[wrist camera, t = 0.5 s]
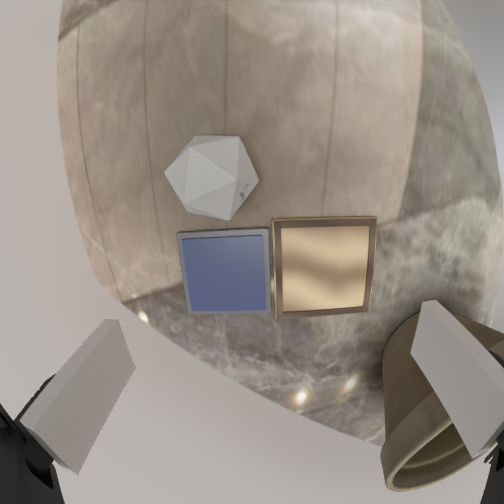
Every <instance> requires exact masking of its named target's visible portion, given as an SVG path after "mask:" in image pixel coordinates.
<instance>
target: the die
mask: <svg viewBox="0 0 504 504" xmlns="http://www.w3.org/2000/svg"><path fill="white" fill-rule="evenodd" d="M164 174H165V176H166V177H167V179H168V181H169V182H170V184H171V186H172V188H173V189H174V191H175V193H176V194H177V196H178V198H179V199H180V201H181V203H182V204H183V206H184V208H185V209H186V211H187V213H193V214H198V215H203V216H208V217H213V218H218V219H223V220H228V221H230V219H231V218H232V217H233V215H234V214H235V213H236V211H237V210H238V209H239V207H240V206H241V205H242V203H243V202H244V201H245V199H246V198H247V197H248V195H249V194H250V193H251V191H252V190H253V189H254V188H255V186H256V185H257V184H258V182H259V179H258V176H257V174H256V172H255V170H254V167H253V165H252V163H251V161H250V158H249V156H248V154H247V152H246V150H245V147H244V145H243V143H242V141H241V139H240V137H239V136H212V135H195V136H194V138H193V139H192V140H191V141H190V142H189V143H188V144H187V145H186V147H185V148H184V149H183V150H182V151H181V152H180V154H179V155H178V156H177V157H176V158H175V159H174V161H173V162H172V163H171V164H170V165H169V167H168V168H167V169H166V170H165V172H164Z"/></svg>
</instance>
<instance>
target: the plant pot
mask: <svg viewBox="0 0 504 504" xmlns="http://www.w3.org/2000/svg"><path fill="white" fill-rule="evenodd" d="M448 312H449V313H450V314H452V315H453V316H454V317H455V318H456V319H457V320H458V321H459V322H460V323H461V324H462V325H463V326H464V327H465V328H466V329H467V330H468V331H469V332H470V333H471V334H472V335H473V336H474V337H475V338H476V339H477V340H478V341H479V342H480V343H481V344H482V345H483V346H484V348H485V349H486V350H491V351H492V352H494V353H496V354H497V355H499V356H500V357H501V358H502V359H503V360H504V334H503V333H501V332H498V331H496V330H494V329H491V328H489V327H487V326H484V325H482V324H480V323H477V322H475V321H472V320H470V319H467V318H465V317H462V316H460V315H457V314H455V313H452V312H450V311H448ZM419 316H420V312H419V313H417V314H415V315H413V316H412V317H410V318H409V319H407V320H406V321H405V322H404V323H403V324H401V325H400V326H399V327H398V329H397V330H396V331H395V332H394V333H393V335H392V336H391V337H390V339H389V341H388V342H387V344H386V347H385V349H384V352H383V357H382V373H383V388H384V406H385V437H386V441H385V443H384V445H383V447H382V450H381V463H382V467H383V473H384V478H385V484H386V486H387V488H388V489H390V490H392V491H397V492H401V491H402V492H403V491H409V490H415V489H418V488H422V487H425V486H428V485H431V484H433V483H436V482H438V481H440V480H443V479H445V478H447V477H449V476H451V475H452V474H454V473H456V472H458V471H460V470H461V469H463V468H464V467H466V466H467V465H469V464H470V463H472V462H473V461H475V460H476V459H477V458H479V457H480V456H482V455H483V454H484V453H486V452H487V451H488V450H489V449H490V448H492V447H493V446H494V445H495V444H496V443H497V441H496V440H495V441H494V442H493V444H492V445H491V446H490V447H489V448H488V449H487V450H486V451H484V452H483V453H481V454H479V455H478V456H476V457H474V458H473V459H472V457H471V455H470V453H469V451H468V449H467V448H466V446H465V444H464V442H463V440H462V438H461V436H460V434H459V432H458V431H457V429H456V427H455V425H454V423H453V422H452V420H451V418H450V416H449V414H448V413H447V411H446V409H445V408H444V406H443V404H442V402H441V401H440V399H439V397H438V396H437V394H436V392H435V391H434V389H433V388H432V386H431V384H430V383H429V381H428V380H427V378H426V376H425V375H424V373H423V372H422V370H421V369H420V367H419V365H418V364H417V362H416V361H415V359H414V358H413V356H412V355H411V353H410V352H411V348H412V344H413V341H414V337H415V333H416V329H417V324H418V320H419Z"/></svg>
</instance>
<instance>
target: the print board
mask: <svg viewBox="0 0 504 504" xmlns="http://www.w3.org/2000/svg"><path fill="white" fill-rule="evenodd" d="M376 230H377V217H375V216H366V217H313V218H283V219H272V234H273V261H274V294H275V319H277V318H297V317H314V316H327V315H340V314H351V313H361V312H369V306H370V298H371V290H372V281H373V272H374V260H375V247H376Z"/></svg>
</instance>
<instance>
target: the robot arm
mask: <svg viewBox="0 0 504 504" xmlns="http://www.w3.org/2000/svg"><path fill="white" fill-rule="evenodd" d="M410 353H411V355H412V356H413V358H414V359H415V361H416V362H417V364H418V365H419V367H420V369H421V370H422V372H423V373H424V375H425V376H426V378H427V380H428V381H429V383H430V384H431V386H432V388H433V389H434V391H435V392H436V394H437V396H438V397H439V399H440V401H441V402H442V404H443V406H444V408H445V409H446V411H447V413H448V414H449V416H450V418H451V420H452V422H453V423H454V425H455V427H456V429H457V431H458V432H459V434H460V436H461V438H462V440H463V442H464V444H465V446H466V448H467V449H468V451H469V453H470V455H471V457H472V459H473V458H474V457H476V456H478V455H479V454H481V453H483V452H484V451H486V450H487V449H488V448H489V447H490V446H491V445H492V444H493V442H494V441H495V440H496V441H497V443H498V445H497V446H496V447H495V448H494V449H493V450H492V452H491V453H490V454H489V455H488V456H487V457H486V458H485V460H484V463H486V462H487V461H488V460H489V459H490V458H491V457H492V456H493V458H492V460H491V461H490V462H489V464H491V467H490V472H489V476H488V479H487V483H486V487H485V490H484V494H483V496H482V499H481V503H480V504H504V360H503V359H502V358H501V357H500V356H499V355H497V354H496V353H494V352H492V351H491V350H486V349H485V348H484V346H483V345H482V344H481V343H480V342H479V341H478V340H477V339H476V338H475V337H474V336H473V335H472V334H471V333H470V332H469V331H468V330H467V329H466V328H465V327H464V326H463V325H462V324H461V323H460V322H459V321H458V320H457V319H456V318H455V317H454V316H453V315H452V314H450V313H449V312H448V311H447V310H446V309H445V308H444V307H443V306H442V305H441V304H440V303H439V302H438V301H437V300H431V301H425V302H422V306H421V311H420V316H419V320H418V324H417V329H416V333H415V337H414V341H413V344H412V348H411V352H410ZM135 368H136V367H135V365H134V362H133V360H132V357H131V354H130V352H129V349H128V347H127V344H126V341H125V338H124V336H123V333H122V330H121V327H120V324H119V321H118V320H110V319H105V320H104V321H103V322H102V323H101V324H100V325H99V326H98V327H97V328H96V329H95V331H94V332H93V333H92V334H91V335H90V336H89V337H88V338H87V340H85V342H84V343H83V344H82V345H81V346H80V347H79V348H78V349H77V350H76V352H75V353H74V354H73V355H72V356H71V357H70V359H69V360H68V361H67V362H66V363H65V364H64V365H63V367H62V368H61V369H60V370H59V371H58V372H57V374H55V375H53V376H52V377H50V378H49V379H48V380H46V381H45V382H44V383H43V385H42V386H41V387H40V390H38V391H37V392H36V393H35V395H34V397H32V398H31V399H30V401H29V402H28V403H27V404H26V406H25V407H24V408H23V410H22V411H21V412H20V413H19V415H18V416H17V417H16V419H15V420H14V421H13V420H12V419H11V418H10V416H9V415H8V413H7V412H6V411H5V409H4V408H3V407H2V405H1V404H0V504H65V503H64V500H63V496H62V493H61V490H60V485H59V481H58V478H57V473H56V470H55V467H54V466H53V464H52V462H53V460H55V461H56V462H57V463H58V464H59V465H60V466H61V467H62V468H64V469H66V470H68V471H70V472H72V473H74V474H76V475H78V473H79V472H80V470H81V468H82V465H83V463H84V462H85V460H86V458H87V456H88V454H89V452H90V450H91V448H92V446H93V444H94V442H95V440H96V438H97V436H98V435H99V433H100V431H101V429H102V427H103V425H104V423H105V422H106V419H107V418H108V416H109V414H110V412H111V410H112V409H113V407H114V405H115V403H116V402H117V399H118V398H119V396H120V394H121V392H122V391H123V389H124V387H125V386H126V384H127V382H128V380H129V379H130V377H131V375H132V373H133V372H134V370H135Z"/></svg>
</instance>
